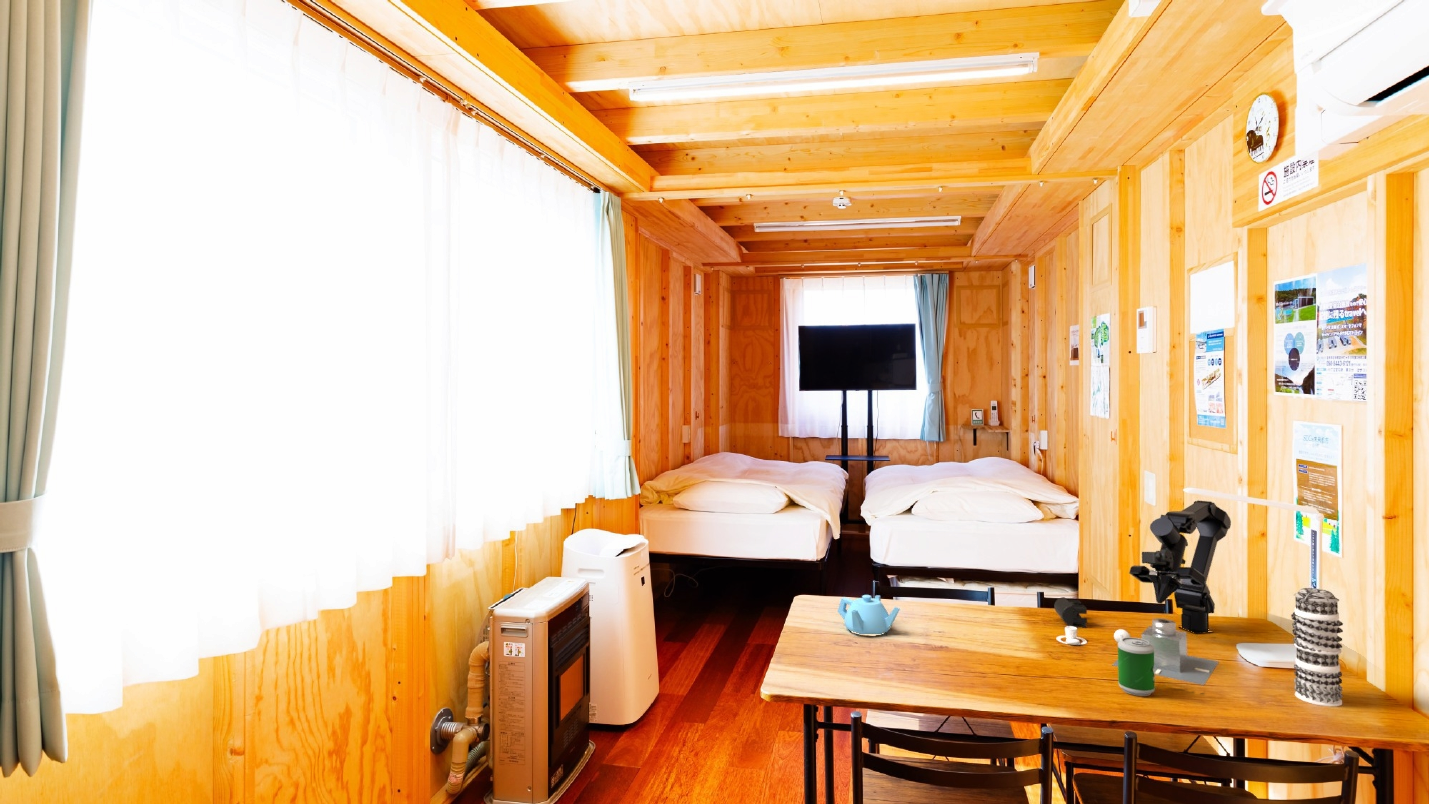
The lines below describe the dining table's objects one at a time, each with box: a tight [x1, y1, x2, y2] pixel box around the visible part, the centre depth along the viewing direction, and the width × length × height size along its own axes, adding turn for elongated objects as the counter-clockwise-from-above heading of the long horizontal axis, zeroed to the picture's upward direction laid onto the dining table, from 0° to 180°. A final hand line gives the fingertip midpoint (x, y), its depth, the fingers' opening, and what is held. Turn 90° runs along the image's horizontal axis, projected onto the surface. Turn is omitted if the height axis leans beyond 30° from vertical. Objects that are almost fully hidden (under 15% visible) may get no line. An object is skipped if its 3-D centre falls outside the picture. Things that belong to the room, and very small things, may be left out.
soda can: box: [1117, 636, 1156, 697], centre depth 173 cm, size 8×8×12 cm
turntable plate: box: [1111, 628, 1219, 686], centre depth 187 cm, size 20×20×10 cm
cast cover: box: [1141, 618, 1188, 673], centre depth 187 cm, size 8×8×11 cm
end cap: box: [1053, 596, 1088, 629], centre depth 225 cm, size 10×7×7 cm
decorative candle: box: [1290, 587, 1344, 708], centre depth 166 cm, size 9×9×25 cm
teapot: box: [837, 594, 901, 634], centre depth 222 cm, size 15×15×11 cm
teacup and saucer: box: [1055, 625, 1088, 646], centre depth 209 cm, size 9×8×4 cm
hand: (1158, 602), depth 200 cm, fingers closed
